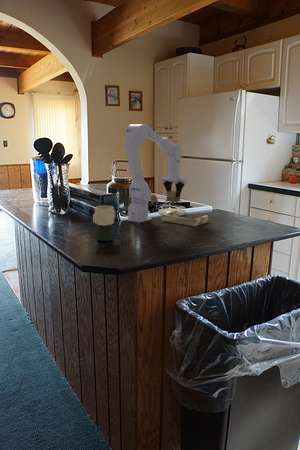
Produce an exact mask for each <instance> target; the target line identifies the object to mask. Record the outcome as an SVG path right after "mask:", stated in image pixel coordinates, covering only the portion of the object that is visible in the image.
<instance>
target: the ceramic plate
mask: <svg viewBox="0 0 300 450" xmlns="http://www.w3.org/2000/svg"><path fill="white" fill-rule="evenodd" d="M173 211H178V215H177V216H178V217H183V216H185V215H186V213H187V210H185V209H183V208H172V207H171V208H161V209H159V210H158V214H159V213H160V214H159V216H162V214H165V213H169V212H173Z"/></svg>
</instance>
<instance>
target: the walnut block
mask: <svg viewBox="0 0 300 450" xmlns="http://www.w3.org/2000/svg"><path fill="white" fill-rule="evenodd" d="M180 201H181V196H180V197H176V190H172V189H171V191H167V192H166V202H169V203H178V202H180Z"/></svg>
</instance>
